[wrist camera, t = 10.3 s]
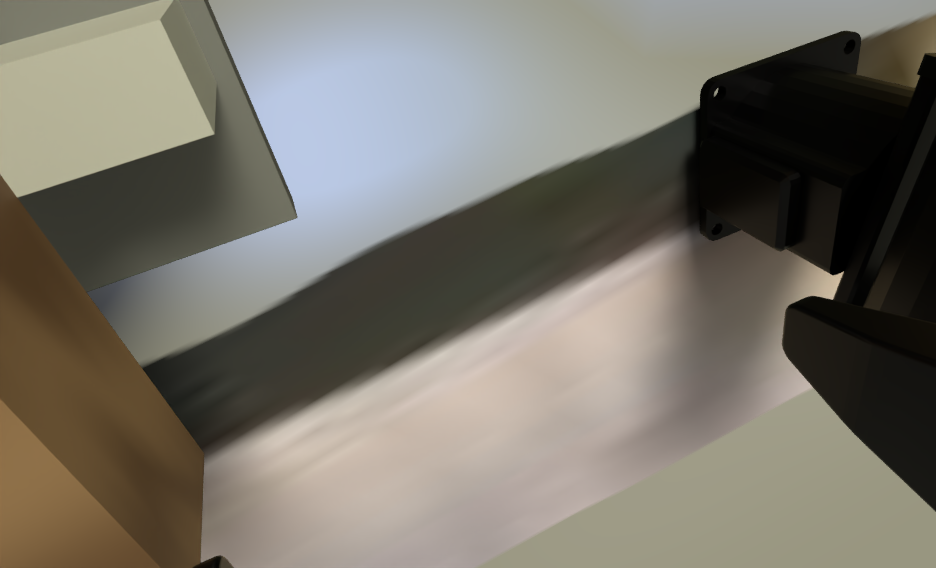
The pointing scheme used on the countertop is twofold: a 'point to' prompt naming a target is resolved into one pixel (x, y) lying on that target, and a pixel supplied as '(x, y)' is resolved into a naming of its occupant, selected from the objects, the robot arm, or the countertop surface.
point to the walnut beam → (82, 427)
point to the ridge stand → (131, 134)
